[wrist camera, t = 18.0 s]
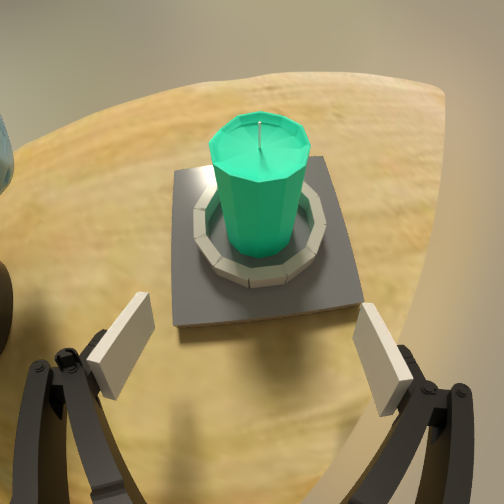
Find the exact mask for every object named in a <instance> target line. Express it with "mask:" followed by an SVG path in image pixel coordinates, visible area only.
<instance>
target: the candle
mask: <svg viewBox="0 0 504 504" xmlns="http://www.w3.org/2000/svg"><path fill="white" fill-rule="evenodd" d="M310 147H311V145H310V142H309V140H308V137H307V135H306V133H305V130H304V128H303V126H302V125H300V124H298V123H296V122H295V121H293V120H291V119H289V118H287V117H285V116H282V115H277V114H273V113H268V112H263V111H258V112H252V113H247V114H242V115H237V116H236V117H235V118H233V119H232V120H231V121H230V122H228V123H227V124H226V125H225V126H223V127H222V128H221V129H220V130H219V131H218V132H217V133H216V134H215V135H214V137H213V138H212V139H211V140H210V141H209V148H210V153H211V158H212V163H213V168H214V173H215V178H216V183H217V188H218V192H219V197H220V202H221V206H222V211H223V216H224V220H225V225H226V230H227V234H228V239H229V242H230V243H231V244H232V245H233V246H234V247H235V248H236V249H237V250H238V251H239V252H240V253H241V254H244V255H248V256H251V257H255V258H258V259H259V258H263V257H268V256H272V255H276V254H278V253H279V252H280V251H281V250H282V249H283V248H284V247H285V246H286V245H288V244H289V241H290V237H291V234H292V230H293V226H294V222H295V217H296V213H297V209H298V204H299V199H300V195H301V190H302V186H303V181H304V176H305V171H306V167H307V162H308V157H309V152H310Z"/></svg>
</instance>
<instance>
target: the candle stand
mask: <svg viewBox="0 0 504 504" xmlns="http://www.w3.org/2000/svg"><path fill="white" fill-rule="evenodd" d="M171 279H172V315H173V326H175V327H177V328H187V327H200V326H212V325H223V324H234V323H243V322H252V321H261V320H269V319H277V318H285V317H292V316H299V315H306V314H312V313H319V312H325V311H331V310H337V309H343V308H348V307H354V306H359V305H360V304H361V303H363V302H364V297H363V293H362V288H361V284H360V280H359V275H358V271H357V267H356V263H355V259H354V255H353V251H352V248H351V244H350V240H349V236H348V233H347V229H346V226H345V222H344V219H343V216H342V212H341V209H340V206H339V202H338V199H337V196H336V193H335V190H334V187H333V184H332V181H331V178H330V175H329V172H328V169H327V166H326V163H325V161H324V158H323V156H314V157H308V162H307V167H306V171H305V176H304V181H303V186H302V190H301V195H300V199H299V204H298V209H297V213H296V217H295V222H294V226H293V230H292V234H291V237H290V241H289V244H288V245H286V246H285V247H284V248H283V249H282V250H281V251H280V252H279V253H278V254H276V255H272V256H268V257H263V258H259V259H258V258H255V257H251V256H248V255H244V254H241V253H240V252H239V251H238V250H237V249H236V248H235V247H234V246H233V245H232V244H231V243H230V242H229V239H228V234H227V230H226V225H225V220H224V216H223V211H222V206H221V202H220V197H219V192H218V188H217V183H216V178H215V173H214V168H213V165H210V166H203V167H196V168H189V169H182V170H176V171H174V186H173V206H172V242H171Z"/></svg>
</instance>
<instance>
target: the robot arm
mask: <svg viewBox="0 0 504 504" xmlns="http://www.w3.org/2000/svg"><path fill="white" fill-rule="evenodd" d="M13 173H14V157H13V151H12V147H11V143H10V140H9V136H8V133H7V131H6V128H5V125H4V122H3V119H2V117H1V114H0V195H1V194H2V193H3V191H4V190H5V189H6V188H7V187H8V185H9V184H10V182H11V180H12V177H13ZM11 315H12V286H11V280H10V276H9V273H8V271H7V269H6V267H5V265H4V264H3V263H2V262H1V261H0V354H1V352H2V350H3V348H4V346H5V343H6V340H7V336H8V333H9V328H10V323H11ZM154 329H155V324H154V319H153V313H152V308H151V302H150V296H149V293H148V292H137V294H136V295H135V296H134V297H133V299H132V300H131V301H130V302H129V304H128V305H127V306H126V307H125V309H124V310H123V311H122V313H121V314H120V315H119V316H118V318H117V319H116V320H115V322H114V323H113V324H112V325H111V327H110V328H109V329H108V330H104V329H103V330H101V331H100V332H98V333H97V334H96V335H95V336H94V337H93V338H92V341H90V342H89V344H88V345H87V346H86V347H85V349H84V350H83V351H82V353H81V354H80V355H78V353H77V351H76V350H75V349H73V348H64V349H62V350H60V351H59V352H57V354H56V355H55V361H56V363H57V365H58V367H50V365H49V363H48V361H46V360H37V361H35V362H34V363H33V364H32V365H31V366H30V369H29V372H28V376H27V380H26V384H25V389H24V393H23V398H22V402H21V407H20V413H19V419H18V425H17V432H16V440H15V449H14V461H13V495H12V498H11V502H10V504H70V501H69V492H68V480H67V462H66V424H67V410H68V415H69V419H70V423H71V427H72V431H73V435H74V438H75V442H76V445H77V449H78V452H79V455H80V458H81V461H82V464H83V467H84V470H85V473H86V476H87V478H88V481H89V483H90V486H91V489H92V492H91V493H90V496H91V499H92V502H93V504H147V503H146V502H145V500H144V498H143V497H142V495H141V493H140V491H139V489H138V488H137V486H136V484H135V482H134V480H133V478H132V476H131V474H130V472H129V470H128V468H127V466H126V464H125V462H124V460H123V458H122V456H121V453H120V451H119V449H118V447H117V444H116V442H115V440H114V437H113V435H112V432H111V430H110V427H109V425H108V422H107V419H106V417H105V414H104V411H103V408H102V405H101V402H100V399H99V397H98V393H99V391H100V390H101V392H102V394H103V396H104V397H105V398H109V399H112V400H117V398H118V396H119V394H120V392H121V390H122V388H123V386H124V384H125V382H126V381H127V379H128V377H129V375H130V373H131V371H132V369H133V367H134V366H135V364H136V362H137V360H138V358H139V356H140V354H141V353H142V351H143V349H144V347H145V345H146V344H147V342H148V340H149V338H150V336H151V335H152V333H153V331H154ZM353 341H354V344H355V346H356V349H357V352H358V355H359V357H360V360H361V363H362V366H363V369H364V371H365V374H366V377H367V380H368V383H369V386H370V389H371V392H372V395H373V398H374V401H375V404H376V407H377V410H378V414H379V417H383V416H389V415H393V414H394V412H395V410H396V409H398V411H399V415H398V416H397V418H396V419H395V421H394V422H393V424H392V427H391V429H390V431H389V433H388V434H387V436H386V438H385V440H384V441H383V443H382V445H381V446H380V448H379V449H378V451H377V453H376V454H375V456H374V457H373V459H372V460H371V462H370V463H369V465H368V466H367V468H366V469H365V471H364V472H363V474H362V475H361V477H360V478H359V479H358V481H357V482H356V483H355V485H354V486H353V488H352V489H351V490H350V492H349V493H348V494H347V495H346V497H345V498H344V499H343V500H342V502H341V503H340V504H387V503H388V502H389V500H390V499H391V497H392V496H393V494H394V492H395V490H396V489H397V487H398V485H399V484H400V482H401V480H402V478H403V476H404V474H405V473H406V471H407V469H408V467H409V465H410V463H411V461H412V459H413V457H414V455H415V452H416V450H417V448H418V446H419V444H420V442H421V439H422V437H423V434H424V432H425V430H426V427H427V426H429V431H428V440H427V447H426V454H425V460H424V465H423V471H422V476H421V480H420V485H419V489H418V493H417V497H416V501H415V504H469V503H470V496H471V488H472V478H473V465H474V413H473V399H472V392H471V390H470V388H469V387H468V386H467V385H465V384H462V383H457V384H455V385H454V386H453V387H452V388H451V390H443V389H438V387H437V386H436V385H435V384H434V383H433V382H431V381H428V380H426V379H425V377H424V375H423V373H422V372H421V370H420V368H419V366H418V364H417V363H416V361H415V359H414V358H413V355H412V353H411V352H410V350H409V349H408V348H407V347H405V346H404V345H396V343H395V342H394V340H393V338H392V336H391V334H390V332H389V331H388V329H387V327H386V325H385V323H384V322H383V320H382V318H381V316H380V315H379V313H378V311H377V309H376V308H375V306H374V304H373V303H361V307H360V311H359V315H358V319H357V323H356V327H355V331H354V334H353Z"/></svg>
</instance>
